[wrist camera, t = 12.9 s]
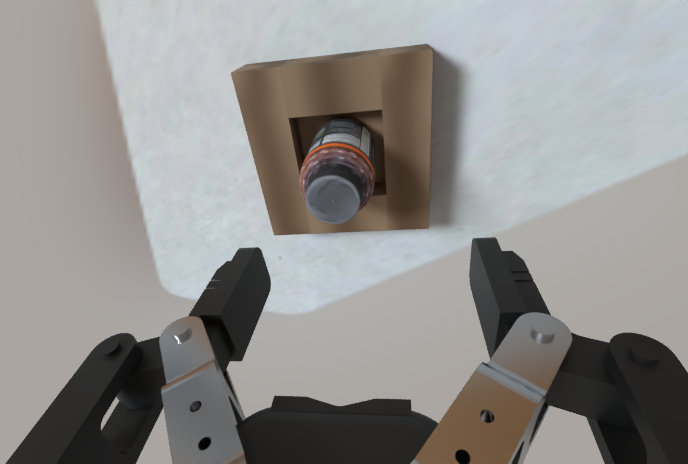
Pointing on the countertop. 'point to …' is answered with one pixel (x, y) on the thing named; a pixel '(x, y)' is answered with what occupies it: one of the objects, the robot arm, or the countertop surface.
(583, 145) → the countertop surface
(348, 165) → the supplement bottle
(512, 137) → the countertop surface
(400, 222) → the walnut holder
